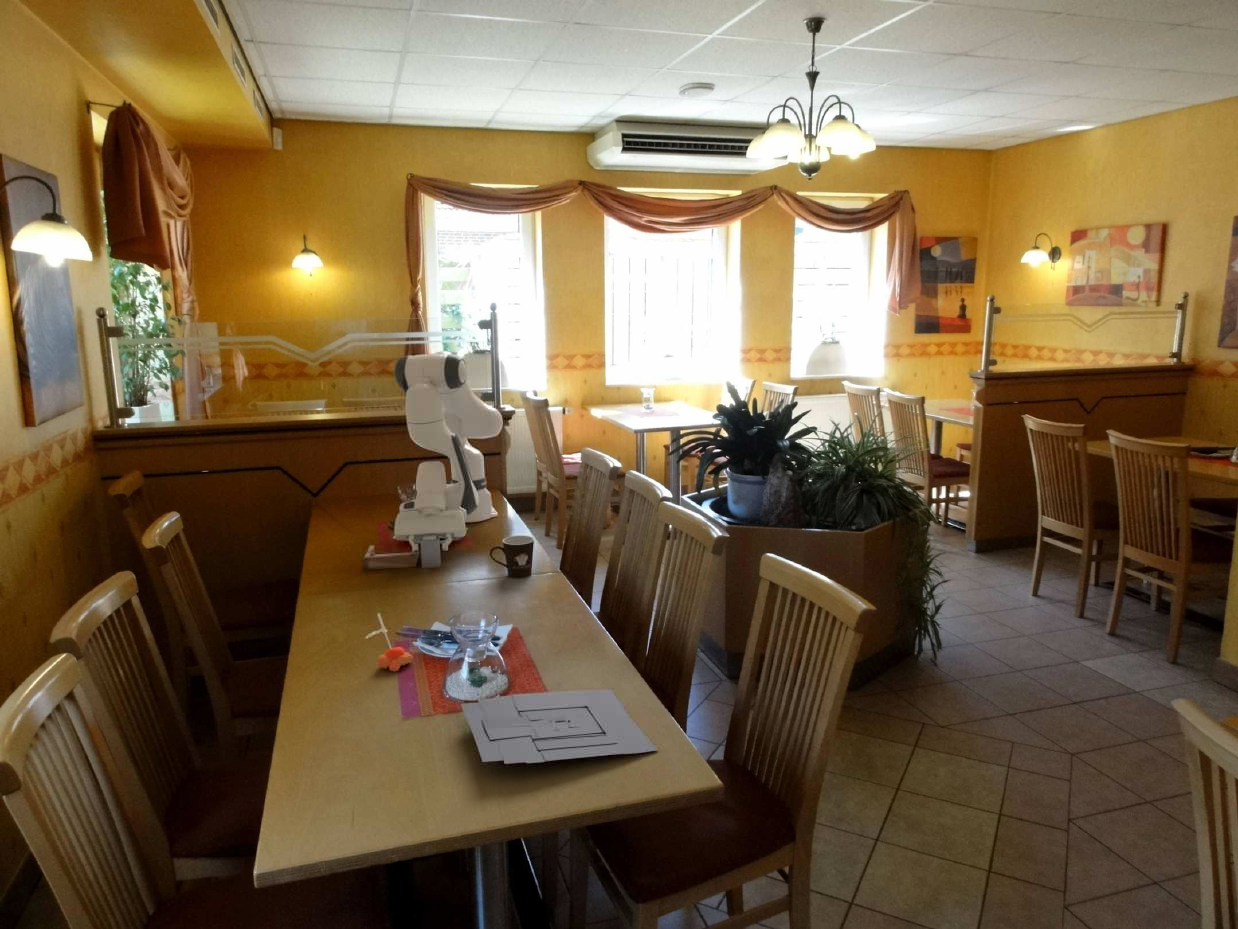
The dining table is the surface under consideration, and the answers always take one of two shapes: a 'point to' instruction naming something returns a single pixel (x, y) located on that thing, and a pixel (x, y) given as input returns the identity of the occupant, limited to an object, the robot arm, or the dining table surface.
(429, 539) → the grey upright block
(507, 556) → the coffee mug
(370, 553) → the bay
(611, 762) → the dining table surface
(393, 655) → the orange flower
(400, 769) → the dining table surface
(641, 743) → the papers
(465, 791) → the dining table surface
